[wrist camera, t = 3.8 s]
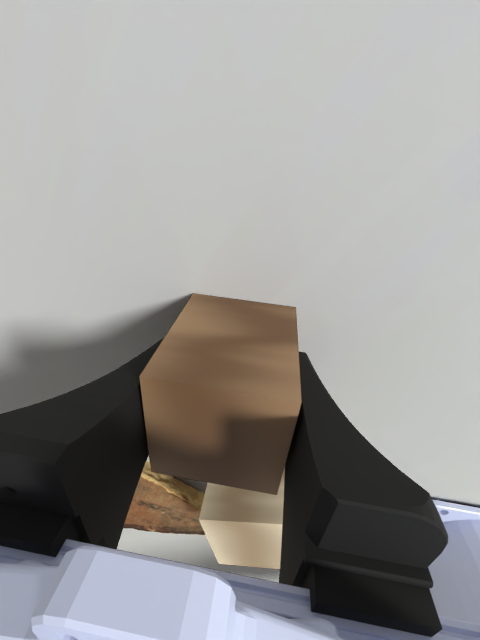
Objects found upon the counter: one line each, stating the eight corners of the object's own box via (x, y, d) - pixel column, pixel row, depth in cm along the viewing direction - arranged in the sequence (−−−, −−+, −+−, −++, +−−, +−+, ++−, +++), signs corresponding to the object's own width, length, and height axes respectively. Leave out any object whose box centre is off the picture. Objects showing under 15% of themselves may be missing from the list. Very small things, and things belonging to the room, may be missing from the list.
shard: (253, 511, 22) (251, 544, 20) (185, 544, 26) (178, 574, 24) (102, 418, 19) (82, 448, 17) (52, 473, 23) (31, 501, 21)
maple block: (292, 439, 17) (294, 524, 13) (298, 485, 19) (302, 571, 15) (217, 439, 18) (198, 519, 14) (231, 483, 20) (218, 563, 16)
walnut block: (295, 307, 13) (301, 402, 8) (279, 385, 15) (276, 495, 10) (193, 293, 13) (139, 376, 8) (193, 371, 15) (151, 472, 10)
